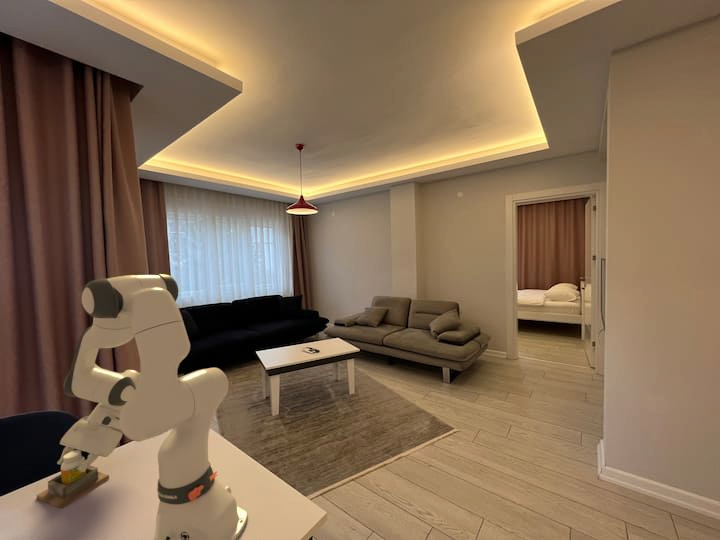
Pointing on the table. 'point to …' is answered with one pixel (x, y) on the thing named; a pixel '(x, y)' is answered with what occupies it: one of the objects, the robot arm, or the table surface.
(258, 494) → the table surface
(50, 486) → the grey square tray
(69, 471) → the supplement bottle
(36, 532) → the table surface
